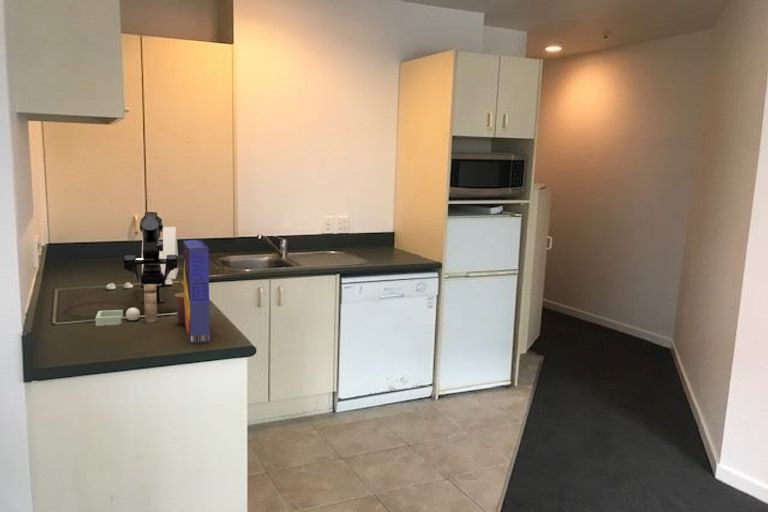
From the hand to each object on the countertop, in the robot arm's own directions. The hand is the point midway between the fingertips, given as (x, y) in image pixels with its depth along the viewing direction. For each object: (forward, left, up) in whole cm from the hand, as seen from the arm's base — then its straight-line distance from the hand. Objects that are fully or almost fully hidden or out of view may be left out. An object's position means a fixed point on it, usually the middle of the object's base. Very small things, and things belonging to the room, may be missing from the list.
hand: (151, 281), depth 222 cm
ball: (+3, -8, -11) cm, 14 cm away
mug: (+18, +8, -13) cm, 23 cm away
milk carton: (-84, +35, -13) cm, 91 cm away
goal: (0, -15, -13) cm, 20 cm away
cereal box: (+33, +3, -13) cm, 35 cm away
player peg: (+7, -3, -13) cm, 15 cm away
